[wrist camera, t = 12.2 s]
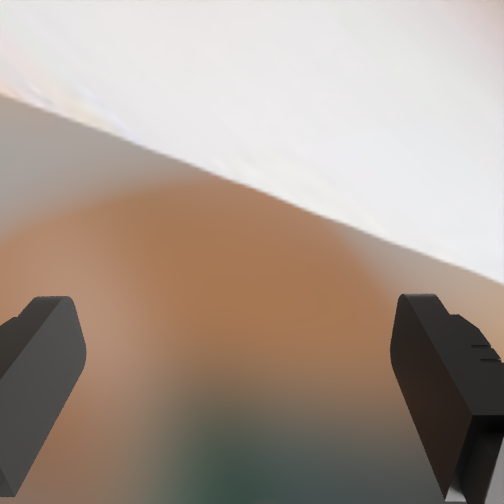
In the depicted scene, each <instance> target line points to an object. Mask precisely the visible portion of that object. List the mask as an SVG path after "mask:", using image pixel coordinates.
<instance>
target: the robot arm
mask: <svg viewBox="0 0 504 504" xmlns="http://www.w3.org/2000/svg"><path fill="white" fill-rule="evenodd" d="M390 357H391V364H392V367H393V371H394V373H395V376H396V379H397V381H398V383H399V386H400V389H401V391H402V393H403V396H404V399H405V401H406V404H407V406H408V409H409V411H410V414H411V416H412V419H413V422H414V424H415V426H416V429H417V432H418V434H419V437H420V439H421V442H422V444H423V446H424V449H425V452H426V454H427V457H428V459H429V462H430V464H431V467H432V469H433V472H434V475H435V477H436V479H437V482H438V485H439V487H440V489H441V492H442V495H443V497H444V500H445V501H466V502H467V504H504V363H502V362H501V358H500V357H499V355H498V354H497V353H496V351H495V350H494V349H493V348H491V345H490V344H489V342H488V341H487V339H486V338H485V337H484V335H483V334H482V333H481V332H480V330H479V329H478V328H477V327H476V326H474V325H473V324H471V323H470V322H469V321H467V320H466V319H464V318H463V317H462V316H460V315H450V314H449V313H448V312H447V310H446V309H445V307H444V306H443V304H442V303H441V301H440V300H439V298H438V297H437V296H436V295H435V294H401V295H400V297H399V299H398V303H397V309H396V315H395V320H394V327H393V332H392V338H391V345H390ZM85 361H86V345H85V341H84V337H83V334H82V330H81V326H80V323H79V319H78V316H77V312H76V309H75V305H74V302H73V300H72V299H71V298H70V297H67V296H49V297H35V298H34V299H33V300H32V301H31V302H30V303H29V304H28V305H27V306H26V308H25V309H24V310H23V311H22V312H21V314H19V316H18V317H13V318H11V319H10V320H9V321H7V322H5V323H4V324H2V325H1V326H0V497H15V496H16V494H17V492H18V490H19V488H20V486H21V485H22V483H23V481H24V479H25V477H26V475H27V473H28V471H29V470H30V468H31V466H32V464H33V462H34V460H35V458H36V457H37V455H38V453H39V451H40V449H41V447H42V445H43V444H44V441H45V440H46V438H47V436H48V434H49V432H50V430H51V429H52V427H53V425H54V423H55V421H56V419H57V417H58V416H59V413H60V412H61V410H62V408H63V406H64V404H65V402H66V401H67V399H68V397H69V395H70V393H71V391H72V389H73V388H74V386H75V384H76V382H77V380H78V378H79V376H80V374H81V372H82V371H83V368H84V365H85Z"/></svg>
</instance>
